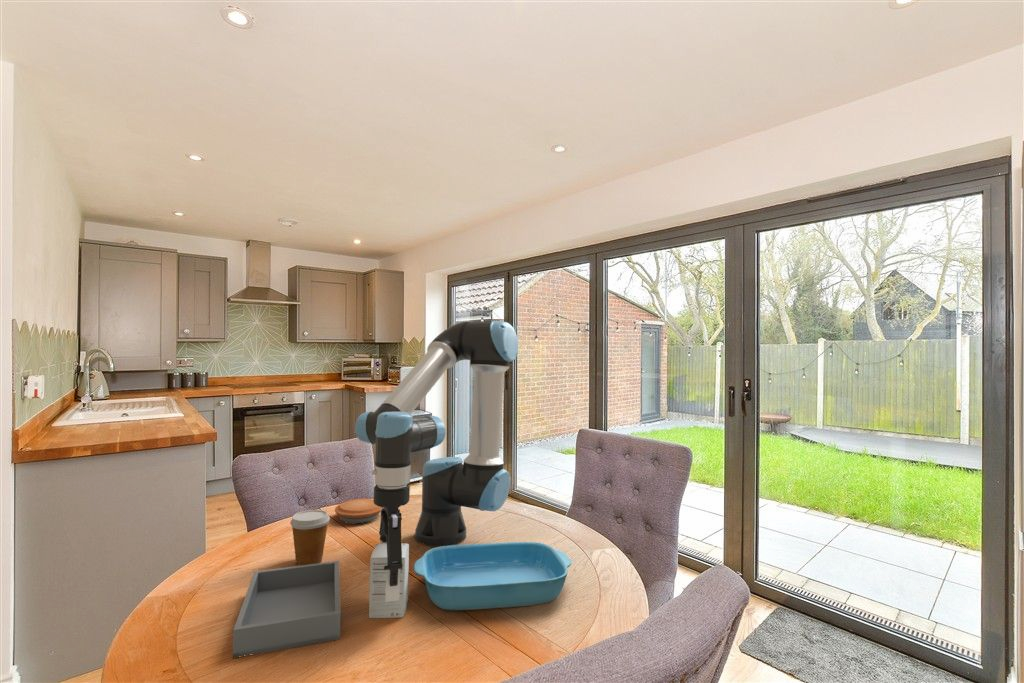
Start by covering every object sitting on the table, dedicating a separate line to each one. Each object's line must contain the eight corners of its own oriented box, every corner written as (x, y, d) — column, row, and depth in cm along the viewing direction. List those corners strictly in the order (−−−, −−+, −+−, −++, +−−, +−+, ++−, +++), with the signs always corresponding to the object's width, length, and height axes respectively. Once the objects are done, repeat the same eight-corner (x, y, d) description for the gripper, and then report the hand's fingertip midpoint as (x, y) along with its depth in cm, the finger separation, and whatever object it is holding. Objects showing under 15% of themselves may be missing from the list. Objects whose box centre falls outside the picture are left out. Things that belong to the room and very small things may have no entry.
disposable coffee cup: (314, 571, 119) (315, 523, 119) (280, 567, 121) (282, 519, 121) (336, 555, 128) (337, 510, 129) (304, 552, 130) (305, 507, 130)
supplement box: (374, 600, 106) (376, 543, 106) (408, 599, 106) (410, 542, 107) (367, 619, 98) (369, 557, 99) (404, 618, 99) (405, 556, 99)
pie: (355, 530, 147) (356, 514, 147) (324, 520, 155) (324, 504, 155) (393, 516, 160) (393, 501, 160) (362, 507, 168) (363, 493, 168)
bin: (338, 581, 114) (339, 560, 114) (339, 639, 91) (340, 612, 92) (253, 593, 108) (254, 571, 108) (232, 658, 85) (233, 630, 85)
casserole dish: (554, 564, 127) (555, 536, 127) (585, 608, 105) (585, 575, 105) (412, 574, 119) (413, 545, 119) (413, 625, 97) (414, 589, 97)
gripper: (369, 472, 113) (366, 563, 113) (379, 502, 90) (375, 617, 89) (401, 470, 116) (398, 559, 115) (419, 499, 93) (415, 611, 92)
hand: (388, 585), depth 102 cm, fingers open, 13 cm apart
